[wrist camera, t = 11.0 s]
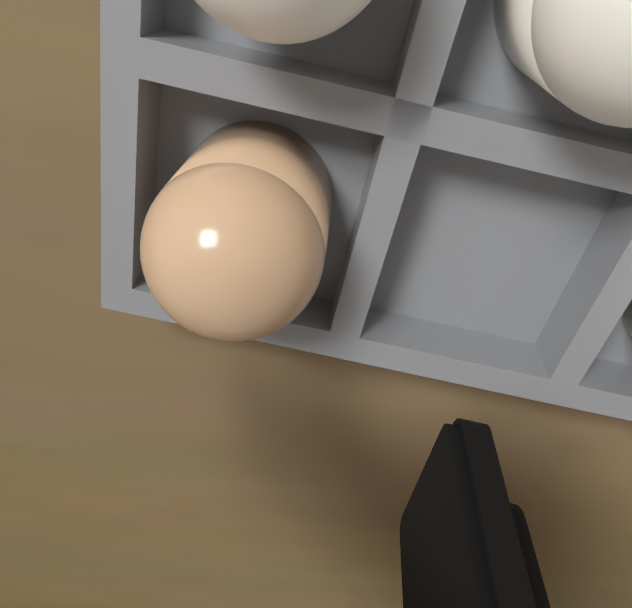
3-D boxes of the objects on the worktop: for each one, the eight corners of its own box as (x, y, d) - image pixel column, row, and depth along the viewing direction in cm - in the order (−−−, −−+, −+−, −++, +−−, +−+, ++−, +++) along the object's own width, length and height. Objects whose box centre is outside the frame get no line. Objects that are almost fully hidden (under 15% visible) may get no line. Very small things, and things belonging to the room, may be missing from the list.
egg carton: (1125, -95, 13) (1779, -133, 7) (723, 393, 22) (863, 566, 16) (153, -361, 12) (-65, -681, 6) (133, 264, 21) (35, 397, 15)
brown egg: (348, 140, 17) (340, 228, 12) (316, 273, 19) (297, 396, 14) (192, 103, 17) (110, 177, 11) (181, 243, 19) (109, 357, 14)
